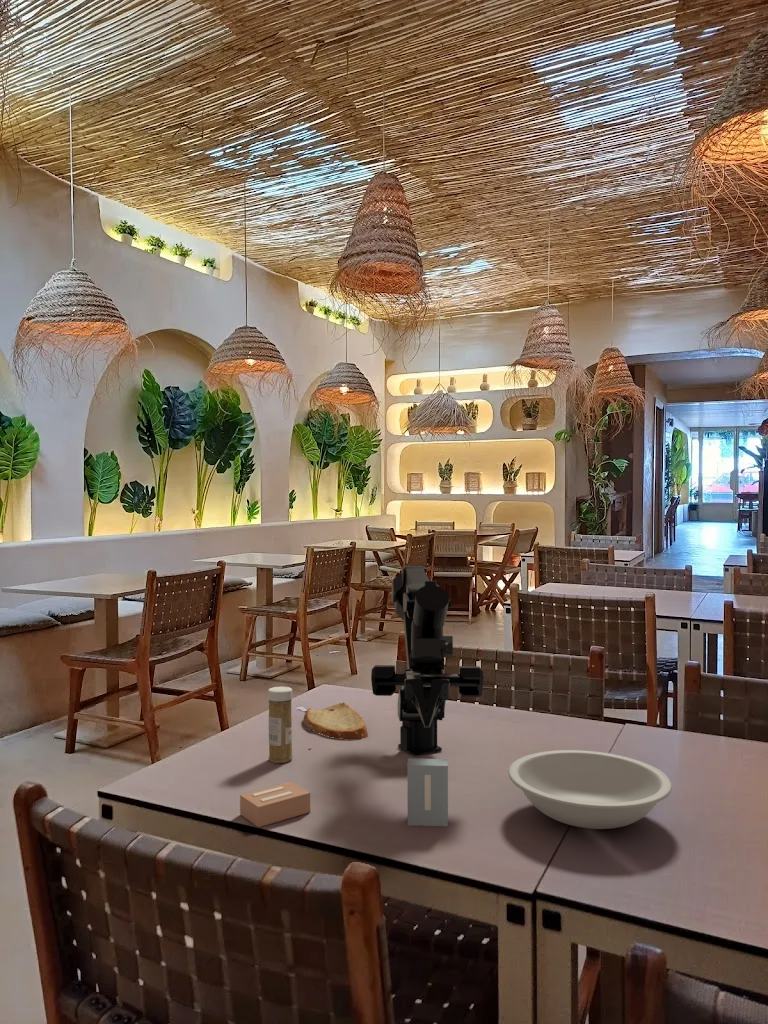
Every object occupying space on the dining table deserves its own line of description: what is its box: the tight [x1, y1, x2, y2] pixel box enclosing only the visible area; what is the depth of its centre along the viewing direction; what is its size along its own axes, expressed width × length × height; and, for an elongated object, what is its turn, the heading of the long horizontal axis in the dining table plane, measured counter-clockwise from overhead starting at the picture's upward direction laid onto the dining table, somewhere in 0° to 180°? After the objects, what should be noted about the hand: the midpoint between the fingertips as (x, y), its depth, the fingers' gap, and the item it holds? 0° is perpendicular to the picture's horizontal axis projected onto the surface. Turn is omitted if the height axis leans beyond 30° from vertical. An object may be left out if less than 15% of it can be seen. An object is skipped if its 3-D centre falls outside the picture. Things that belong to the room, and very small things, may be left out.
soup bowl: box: [507, 749, 673, 830], centre depth 113 cm, size 24×24×7 cm
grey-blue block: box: [406, 758, 449, 827], centre depth 112 cm, size 3×6×9 cm, turn 87°
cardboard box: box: [239, 781, 311, 828], centre depth 115 cm, size 3×6×9 cm
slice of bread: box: [303, 702, 369, 740], centre depth 162 cm, size 18×18×4 cm
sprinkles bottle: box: [267, 686, 293, 764], centre depth 140 cm, size 5×5×14 cm
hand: (426, 726), depth 120 cm, fingers closed
